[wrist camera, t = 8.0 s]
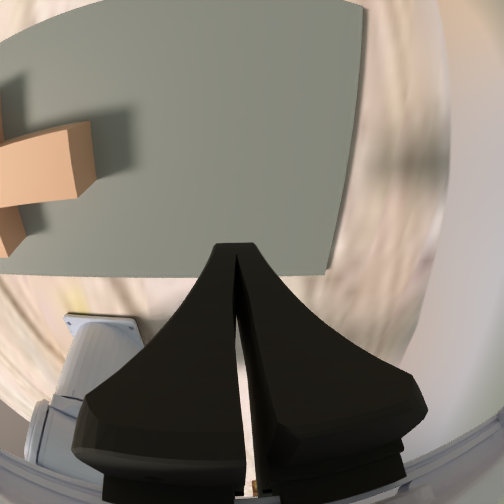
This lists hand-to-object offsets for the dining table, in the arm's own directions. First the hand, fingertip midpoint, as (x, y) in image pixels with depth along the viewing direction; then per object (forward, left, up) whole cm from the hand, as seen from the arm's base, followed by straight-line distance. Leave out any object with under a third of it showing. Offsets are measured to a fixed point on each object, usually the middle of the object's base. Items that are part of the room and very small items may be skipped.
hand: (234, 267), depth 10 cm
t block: (+3, +15, -9) cm, 17 cm away
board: (+3, +10, -9) cm, 14 cm away
